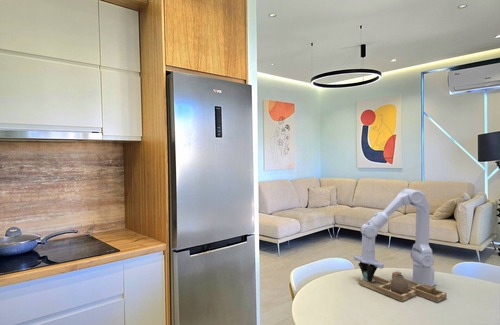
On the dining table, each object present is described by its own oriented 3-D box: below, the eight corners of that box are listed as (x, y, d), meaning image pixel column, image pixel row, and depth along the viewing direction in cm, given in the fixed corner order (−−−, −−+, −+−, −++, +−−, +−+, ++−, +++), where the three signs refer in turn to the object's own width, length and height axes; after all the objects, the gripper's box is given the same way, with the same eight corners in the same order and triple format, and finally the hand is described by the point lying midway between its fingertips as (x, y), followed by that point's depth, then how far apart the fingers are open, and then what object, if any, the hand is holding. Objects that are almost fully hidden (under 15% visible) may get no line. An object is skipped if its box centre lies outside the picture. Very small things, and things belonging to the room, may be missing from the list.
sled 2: (399, 281, 145) (399, 270, 145) (446, 297, 128) (446, 285, 128) (389, 284, 141) (389, 273, 141) (437, 302, 124) (437, 289, 124)
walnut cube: (425, 293, 134) (425, 284, 134) (435, 296, 130) (435, 287, 130) (420, 295, 131) (420, 286, 131) (430, 299, 128) (430, 289, 128)
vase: (411, 300, 127) (411, 278, 127) (393, 298, 128) (393, 277, 128) (404, 292, 134) (405, 272, 134) (388, 291, 135) (388, 271, 135)
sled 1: (372, 279, 147) (373, 268, 147) (416, 295, 130) (416, 283, 130) (358, 283, 142) (358, 272, 142) (401, 301, 124) (402, 288, 124)
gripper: (349, 247, 147) (349, 276, 147) (377, 255, 135) (376, 286, 135) (359, 245, 151) (358, 273, 151) (386, 253, 139) (386, 283, 139)
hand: (367, 279), depth 144 cm, fingers closed on sled 1, 2 cm apart
